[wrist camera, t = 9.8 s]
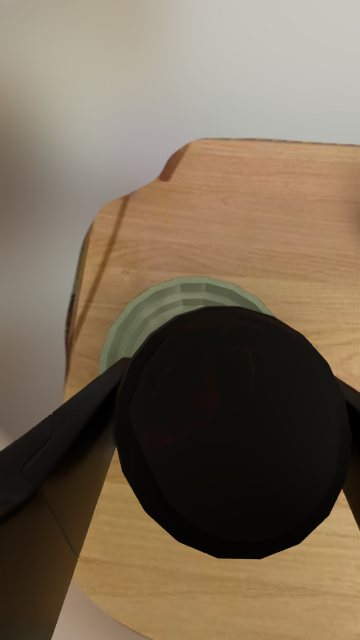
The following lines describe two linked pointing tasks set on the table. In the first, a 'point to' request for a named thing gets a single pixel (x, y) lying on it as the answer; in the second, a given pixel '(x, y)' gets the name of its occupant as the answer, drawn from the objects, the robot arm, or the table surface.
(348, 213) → the table surface
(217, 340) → the coffee cup
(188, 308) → the sage green pet bowl
